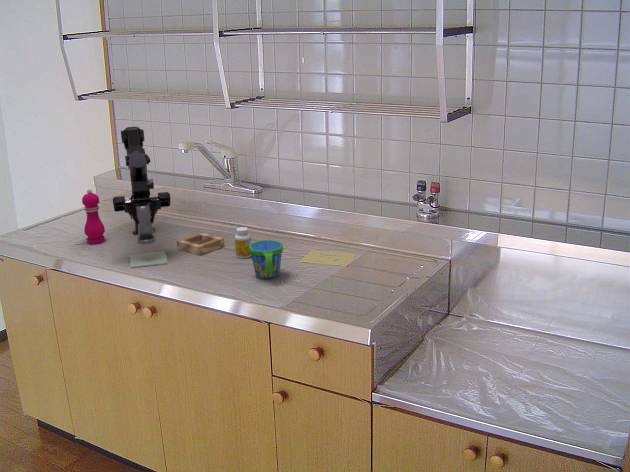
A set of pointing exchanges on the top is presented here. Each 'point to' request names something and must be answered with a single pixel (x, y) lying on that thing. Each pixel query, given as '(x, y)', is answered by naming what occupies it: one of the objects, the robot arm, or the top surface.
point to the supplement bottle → (242, 243)
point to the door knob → (144, 224)
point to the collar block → (208, 244)
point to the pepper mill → (93, 219)
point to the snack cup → (266, 258)
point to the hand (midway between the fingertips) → (144, 223)
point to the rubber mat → (148, 259)
